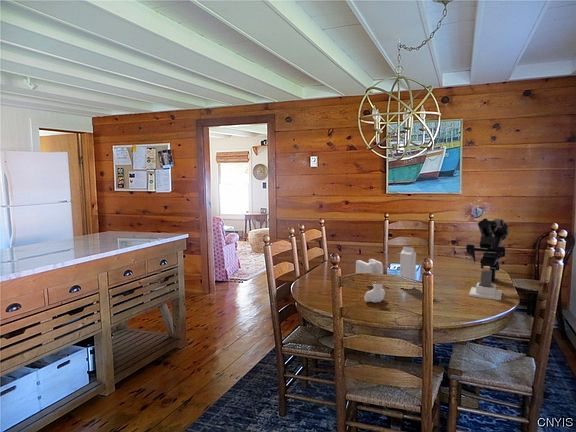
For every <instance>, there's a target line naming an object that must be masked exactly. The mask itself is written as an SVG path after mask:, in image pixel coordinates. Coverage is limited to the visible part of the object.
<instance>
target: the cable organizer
mask: <svg viewBox="0 0 576 432" xmlns="http://www.w3.org/2000/svg"><path fill="white" fill-rule="evenodd" d="M356 273H371V274H383V275H384V265H383V262H381V261H379V260H376V259H374V258H369V259H368V262H365V261H364V260H361V259H358V260H355V274H356Z"/></svg>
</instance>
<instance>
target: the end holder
mask: <svg viewBox="0 0 576 432" xmlns="http://www.w3.org/2000/svg"><path fill="white" fill-rule="evenodd" d="M496 288H497V284H495V283H491V287H482V286H481V282H477V283H476V286H475V287H474V286H471V288H470V291H469V293H468V297H471V298H472V297H473V298H481V299H488V300H496V301H501V300H502V295H503V291H502V289H496Z"/></svg>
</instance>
